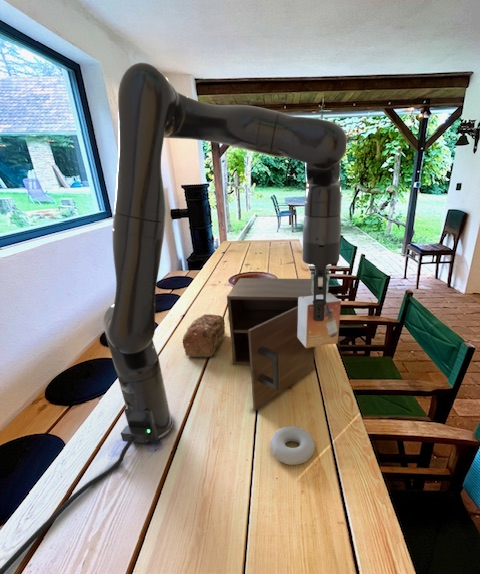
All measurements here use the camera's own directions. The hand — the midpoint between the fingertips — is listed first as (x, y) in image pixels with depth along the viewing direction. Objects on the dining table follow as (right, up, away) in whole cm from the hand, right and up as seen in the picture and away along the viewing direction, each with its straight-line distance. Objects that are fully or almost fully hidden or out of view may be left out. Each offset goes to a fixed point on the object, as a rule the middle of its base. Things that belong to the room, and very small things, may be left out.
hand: (318, 313), depth 72 cm
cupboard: (-9, -13, +41) cm, 43 cm away
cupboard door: (-4, -22, +20) cm, 30 cm away
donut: (-6, -31, +1) cm, 32 cm away
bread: (-34, -11, +47) cm, 59 cm away
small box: (0, -7, +3) cm, 7 cm away
